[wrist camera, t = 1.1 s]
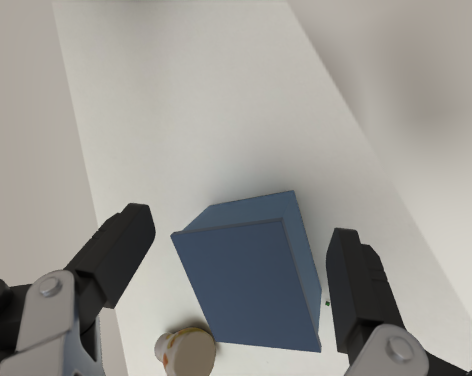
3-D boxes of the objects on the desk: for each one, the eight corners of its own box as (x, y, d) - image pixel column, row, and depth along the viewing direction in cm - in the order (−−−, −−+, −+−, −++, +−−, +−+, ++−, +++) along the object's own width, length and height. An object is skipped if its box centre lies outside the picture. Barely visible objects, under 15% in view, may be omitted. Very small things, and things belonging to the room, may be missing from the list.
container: (206, 203, 29) (169, 235, 23) (296, 186, 24) (281, 220, 18) (239, 292, 32) (215, 341, 26) (325, 292, 27) (321, 353, 21)
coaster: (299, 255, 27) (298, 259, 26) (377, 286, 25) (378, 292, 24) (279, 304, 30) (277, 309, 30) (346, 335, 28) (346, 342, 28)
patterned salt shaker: (155, 320, 41) (128, 361, 31) (210, 303, 41) (201, 338, 31) (168, 364, 41) (145, 419, 31) (224, 347, 41) (219, 396, 31)
